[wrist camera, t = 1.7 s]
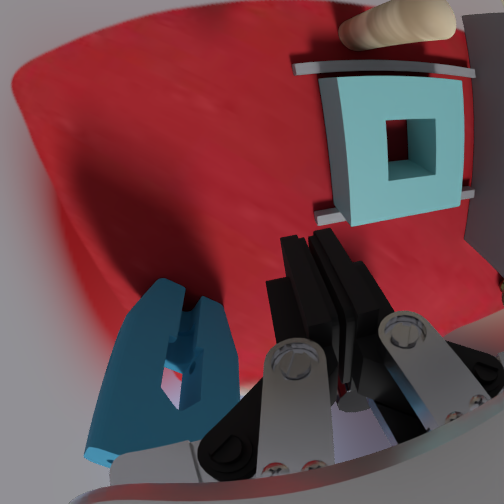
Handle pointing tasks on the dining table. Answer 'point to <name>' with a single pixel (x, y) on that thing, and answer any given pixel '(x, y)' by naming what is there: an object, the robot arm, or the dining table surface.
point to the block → (151, 371)
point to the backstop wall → (485, 128)
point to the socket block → (375, 145)
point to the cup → (502, 289)
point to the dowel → (398, 24)
